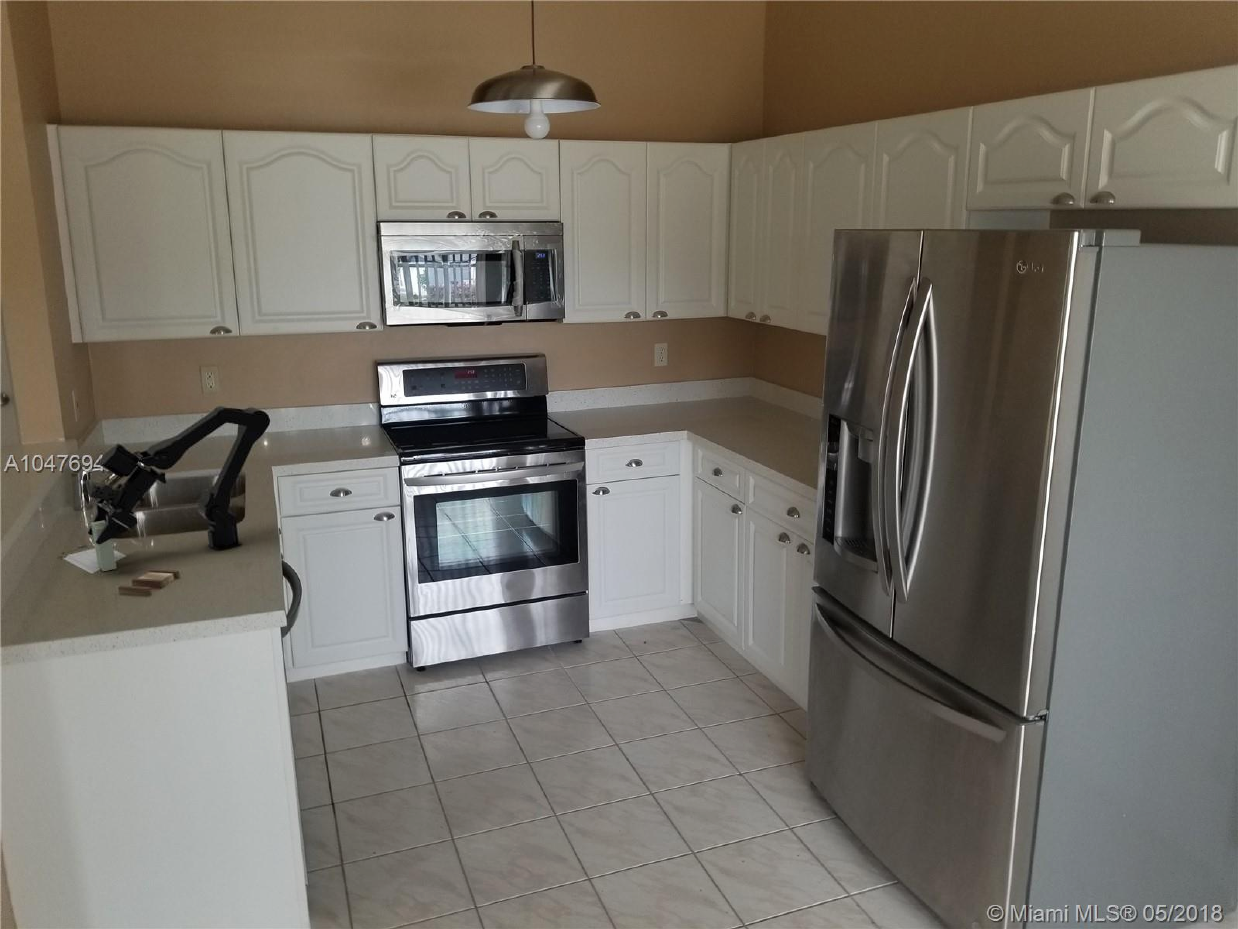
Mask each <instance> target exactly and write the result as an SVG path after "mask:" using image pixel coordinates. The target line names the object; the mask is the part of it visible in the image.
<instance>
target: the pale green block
mask: <svg viewBox="0 0 1238 929" xmlns="http://www.w3.org/2000/svg"><path fill="white" fill-rule="evenodd" d="M92 522H93V521H92ZM92 522H90V527H92V533H93V535H92V538H93V544H94V548H95V550H96V556H97V562H98V565H99V566H100V568H101V569H100V570H102V571H103V572H107V571H110V570H111V571H112V570H115V569H117V563H116V562H117V561H115V556H114V550H115V549H114V544H113V540H112V539H113V538H111V539H109V540H108V541H106V542H104V543H102V544H100V545H99V544H97V543H96V540H97V538H98V537H99V535H100V533H101V532H102V530H103V528H104V527H105V525H106V522H105V521H99V522H93V523H92Z"/></svg>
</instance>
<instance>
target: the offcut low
mask: <svg viewBox="0 0 1238 929" xmlns="http://www.w3.org/2000/svg"><path fill="white" fill-rule="evenodd" d="M173 580H174V577H172V578H170V579H169V580H167V581H165V582H164V585H166V584H168V583H169V582H171V581H173Z"/></svg>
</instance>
